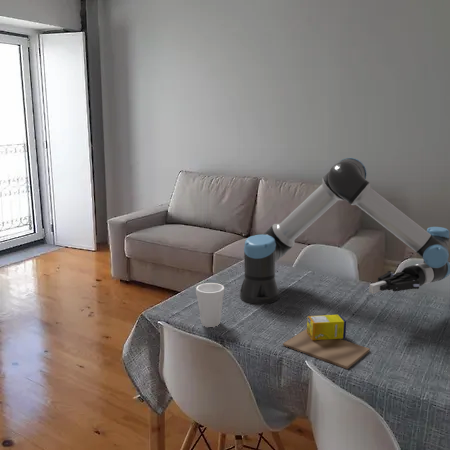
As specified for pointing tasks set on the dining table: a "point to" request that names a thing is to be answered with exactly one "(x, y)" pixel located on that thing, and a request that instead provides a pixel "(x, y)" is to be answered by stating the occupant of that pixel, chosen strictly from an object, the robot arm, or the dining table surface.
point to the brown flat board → (328, 349)
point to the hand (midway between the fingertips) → (371, 289)
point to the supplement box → (326, 327)
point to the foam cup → (210, 303)
